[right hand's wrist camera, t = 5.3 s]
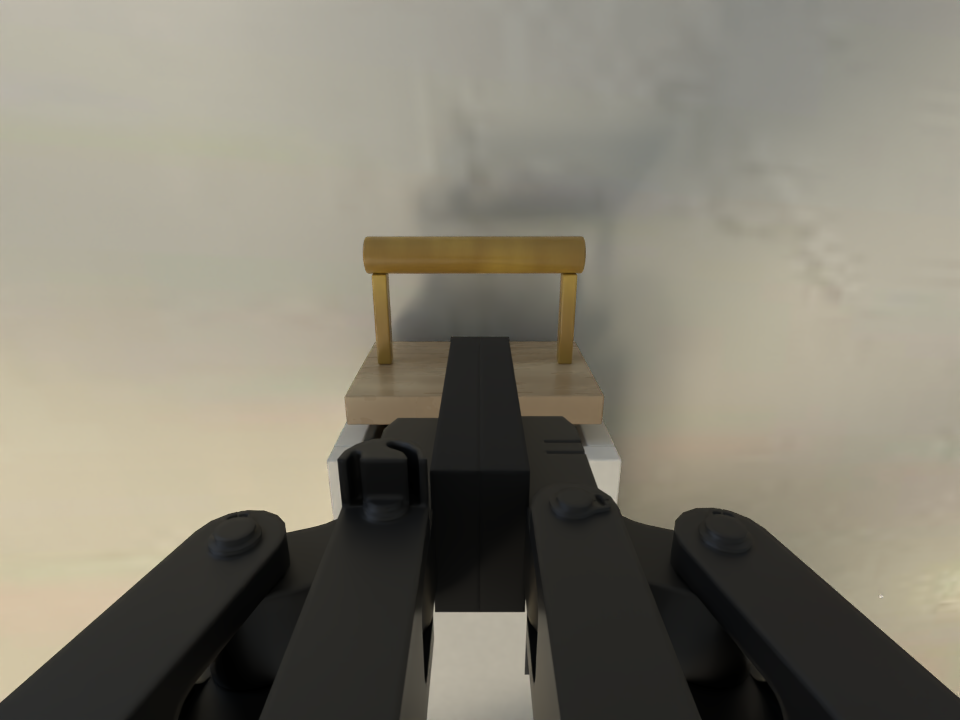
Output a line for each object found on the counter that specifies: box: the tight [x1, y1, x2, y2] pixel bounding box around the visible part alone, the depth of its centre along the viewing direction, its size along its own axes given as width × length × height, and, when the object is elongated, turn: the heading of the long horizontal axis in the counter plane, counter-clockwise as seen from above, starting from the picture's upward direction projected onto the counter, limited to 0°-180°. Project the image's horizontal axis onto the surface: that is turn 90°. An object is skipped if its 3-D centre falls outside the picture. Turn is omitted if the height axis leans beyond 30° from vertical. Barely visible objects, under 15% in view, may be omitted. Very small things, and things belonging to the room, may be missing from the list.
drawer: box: [345, 236, 604, 425], centre depth 26 cm, size 24×10×6 cm, turn 0°
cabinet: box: [327, 420, 622, 720], centre depth 27 cm, size 20×11×8 cm, turn 0°
